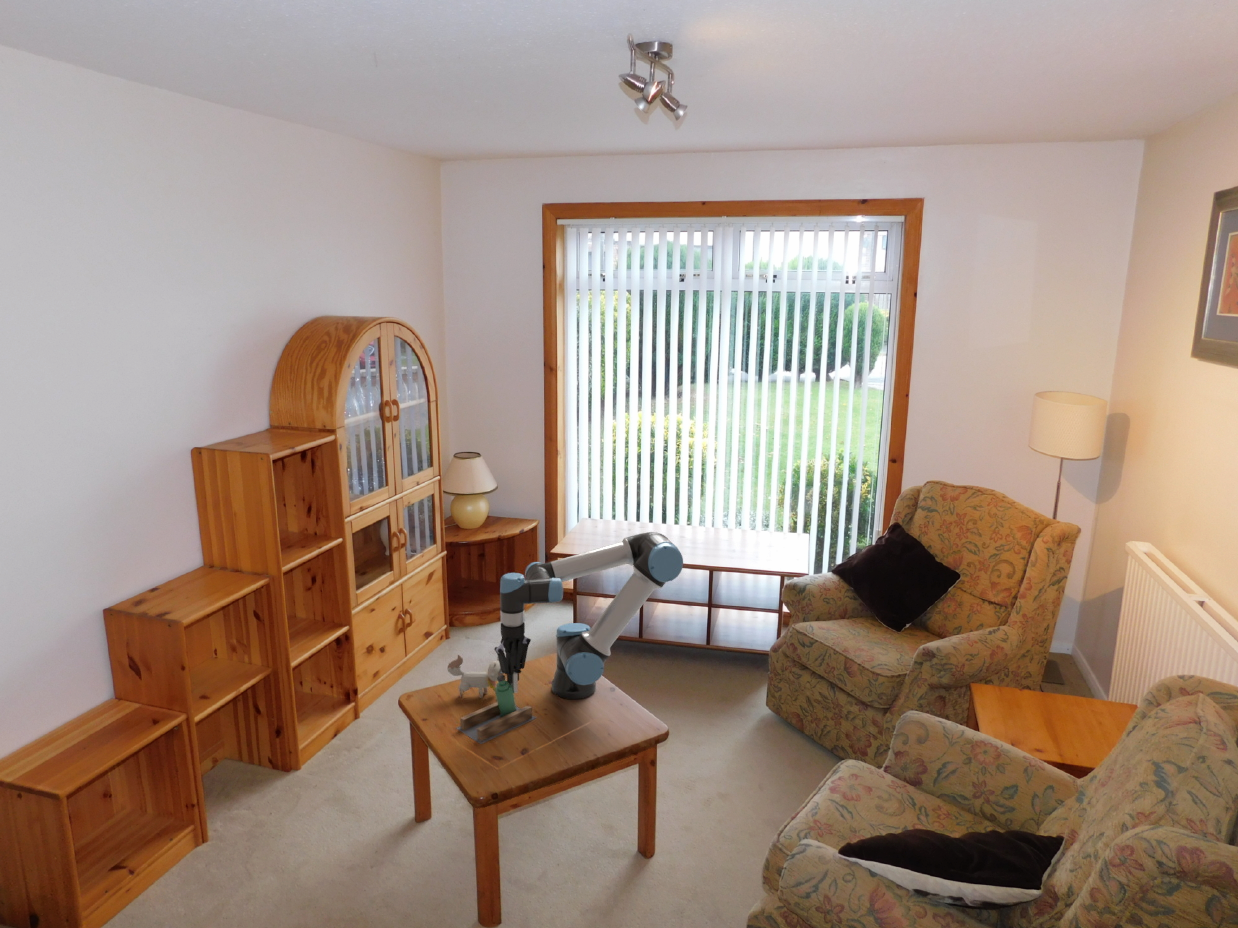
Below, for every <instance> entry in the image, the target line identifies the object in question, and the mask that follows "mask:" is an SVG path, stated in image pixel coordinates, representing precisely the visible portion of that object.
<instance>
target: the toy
mask: <svg viewBox="0 0 1238 928" xmlns="http://www.w3.org/2000/svg"><path fill="white" fill-rule="evenodd" d="M463 663H464V659H463V657H462V656H461V655H459V654H457V658H455V659H454V660H452V661H450V662H448V665H447V672H448V673H449V674H450V675H452V676H454V677H458V676H459V677H460V676H461V677H460V683H459V685H458V691H459V695H460V696H459V697H460V698H463V694H465V692H467V691H469V690H470V688H478V698H479V699H483V698H484V695H487V694H488V688H490V689H492V690H493V691H494V692H495V688H496V687H497V683H498V680H497V677H498V676H500V675H504V673H503V672H502V671H501V667H500V663H499V659H498V656H497V657H496V660H493V661H491V662H490V664H489V665H488V669H487V671H467V672H464V671H463V670H462V669H461V667H462V666H461V665H463Z"/></svg>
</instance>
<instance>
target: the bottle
mask: <svg viewBox="0 0 1238 928" xmlns="http://www.w3.org/2000/svg"><path fill="white" fill-rule="evenodd" d="M497 680H498V681H497V687H496V688H495V691H494V692H495V697H496V702H497V703H498V707H499V712H500V716H501V717H504V716H506V715H508V714H510V713H512V712H515V711H517V709H516V706H517V705H516V700H515V699H514V698H515V695H514V694H515V693H513V690H512V685H511V684H509V683H508V681H507V680H506V676H505V675H504V674H503V675H500V676H498V677H497Z"/></svg>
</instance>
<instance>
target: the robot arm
mask: <svg viewBox="0 0 1238 928" xmlns="http://www.w3.org/2000/svg"><path fill="white" fill-rule="evenodd" d="M624 565H630V566H631V567H633V573H632V574H631V575H630V577H629V579H628V580H627V581H626V582H625V583H624V584H623V586H622V587H621V589H620V590H619V591H618V593H617V594H616V595H615V597H614V598H613V599H612V600H611V602H610V603H609V604H608V605H607V607H606V608H605V610H603V612H602V614H601V615H600V616H599V617H598V619H597V620H596V622H595V623H594V624H593V625H592V627H591V626H590V625H589V624H586V623H581V622H575V623H574V622H573V623H572V622H571V623H565V624H562V625H560V626H558V627H557V629H556V635H555V637H556V669H555V672H554V676H553V678H552V682H551V692H552V693H553V695H555V696H556V697H559V698H560V699H565V700H579V699H585V698H588V697H590V696H591V695H593V694H594V693H595V692H596V690H597V688H596V687H597V685H596V684H597V681H599V680H600V679H601V677H602V676H603V673H604V672H605V671H604V670H605V669H604V668H605V663H606V661H607V660H608V659H609V657H610V656H611V647H612V645H614V643H615V642H616V640H617V639H618V638H619V637H620V635H621V634H622V632H623V631H624V630H625V629H626V627H628V624H629V623H630V622H631V620H633V618H634V617H635V615H636V614H638V611H640V609H641V607H642V606H643V605H644V604H645V603H646V601H648V598H649V597H650V596H651V594H652V593H653V592H654V591H655V590H657V589H662V588H663V587H664V586H665V584H666V583H668V582H672V581H674V580H676V579H677V578H678V577H679V576H680V574H681V573H682V570H683V566H684V558H683V554H682V553H681V551H680V549H679V548H678V547H677V546H676V545H675V544H674V543H673V542H672V541H670V540H669V538H668V537H667V536H666V535H664V534H662V533H660V532H657V531H656V532H655V531H649V532H642V533H639V534H633V535H630V536H626V537H624V538H623V539H622V541H621V542H616V543H613V544H610V545H606V546H602V547H600V548H595V549H591V550H588V551H583V552H580V553H578V554H574V555H571V556H567V557H564V558H559V559H556V560H552V561H548V562H545V563H542V562H539V561H534V562H530V563H529V564H528V565H527V566H526V567H525V571H524V572H525V573H524V574H522V573H519V572H507V573H505V574H503V575H502V576H501V577H500V582H499V583H500V584H499V585H500V586H499V587H500V588H499V595H500V596H499V597H500V598H499V599H500V601H499V602H500V603H499V604H500V636H501V640H500V644H499V646H496V647H494V652H495V653H496V654H497V657H498V659H499V663H500V667H501V671H502V672H503V673H504V674H505V675H506V681H508V683H509V684H511V685H512V690H513V694H516V693H518V691H519V689H518V688H519V687H518V685H519V684H518V682H519V680H520V674H521V673H522V670H523V669H524V668H525V665H526V660H527V657H528V656H527V655H528V649H529V645H530V643H531V640H532V639H531V638H529V637H527V636H525V631H526V629H525V626H526V625H525V621H526V619H525V618H526V615H525V613H526V611H525V605H532V604H545V603H546V604H547V603H548V604H549V603H550V604H553V603H558V602H561V601H562V600H563V598H564V597H563V596H564V586H563V582H567V581H571V580H575V579H578V578H581V577H585V576H589V575H592V574H595V573H600V572H603V571H607V570H609V569H614V568H618V567H620V566H624ZM504 674H503V675H504Z"/></svg>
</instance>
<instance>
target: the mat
mask: <svg viewBox="0 0 1238 928" xmlns="http://www.w3.org/2000/svg"><path fill="white" fill-rule="evenodd" d="M516 709H517V710H519V709H521V708H520V707H518V706H517V705H516ZM499 718H501V716H500V715H498V716H495V717H493V718H491V719H489V720H486V721H484V722H482V723H480V724H477V725H475V726H473V727H471V728H469V729H466V730H462V729H461V725H460V726H458V727H455V729H456V730H458V731H460V733H462V734H464V735H465V736H467V737H469V738H470V739H471V740H473V741H475V742H476V743H478V744H479V745H483V744H484V743H487V742H488V741H491V740H493V739H495V738H498V737H500V736H502V735H504V734H507V733H508V732H510V731H512V730H514V729H517V728H519V727H520V726H523V725H526V724H527V723H529V722H532V721H533V720H535V719H537V716H534V715H533V714H532V718H530V719H528V720H526V721H524V722H522V723H519V724H517V725H515V726H513V727H511V728H509V729H507V730H504V731H502V732H500V733H498V734H496V735H494V736H492V737H489V738H487V739H485V740H483V741H480V740H478V739H477V728H479V727H481V726H484V725H486V724H488V723H490V722H492V721H495V720H497V719H499Z"/></svg>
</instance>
